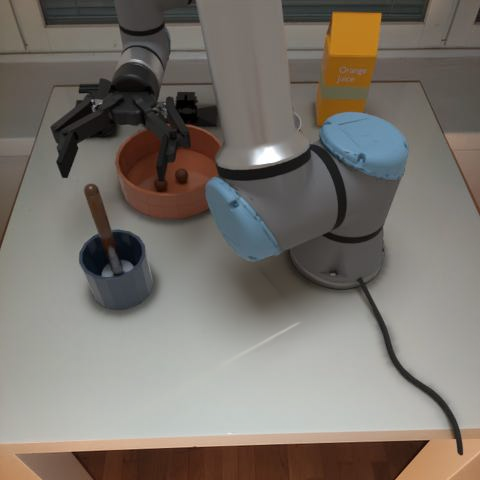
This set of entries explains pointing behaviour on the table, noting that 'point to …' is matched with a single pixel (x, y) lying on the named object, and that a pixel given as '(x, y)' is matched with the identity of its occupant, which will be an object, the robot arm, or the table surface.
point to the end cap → (99, 93)
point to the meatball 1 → (160, 185)
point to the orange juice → (347, 63)
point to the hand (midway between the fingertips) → (110, 172)
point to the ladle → (105, 234)
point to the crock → (123, 286)
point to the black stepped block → (193, 111)
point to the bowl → (167, 174)
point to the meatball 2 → (181, 175)
